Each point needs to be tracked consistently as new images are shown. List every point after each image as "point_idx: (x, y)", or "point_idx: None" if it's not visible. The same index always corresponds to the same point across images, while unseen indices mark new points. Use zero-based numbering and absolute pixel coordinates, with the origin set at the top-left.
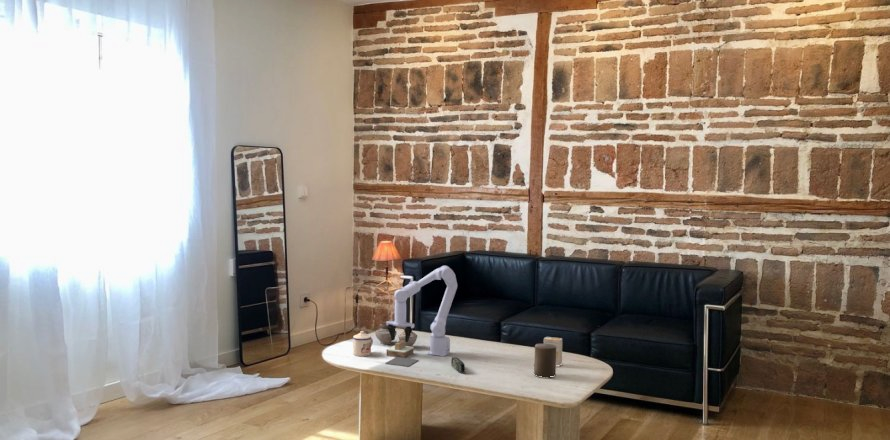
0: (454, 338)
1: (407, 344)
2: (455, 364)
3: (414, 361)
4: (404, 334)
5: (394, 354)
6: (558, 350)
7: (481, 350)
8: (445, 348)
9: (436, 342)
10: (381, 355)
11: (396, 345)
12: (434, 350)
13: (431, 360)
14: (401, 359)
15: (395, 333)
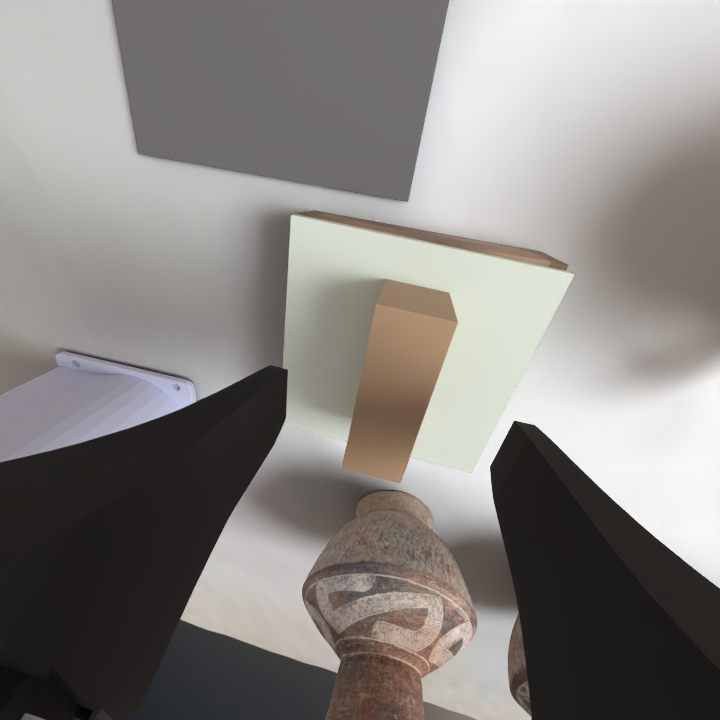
0: (230, 627)
1: (379, 514)
2: None
3: (133, 40)
4: (402, 617)
5: (441, 236)
6: None
7: None
8: (1, 394)
9: (17, 438)
10: (608, 257)
11: (426, 304)
12: (110, 392)
13: (59, 204)
14: (314, 85)
15: (515, 667)
